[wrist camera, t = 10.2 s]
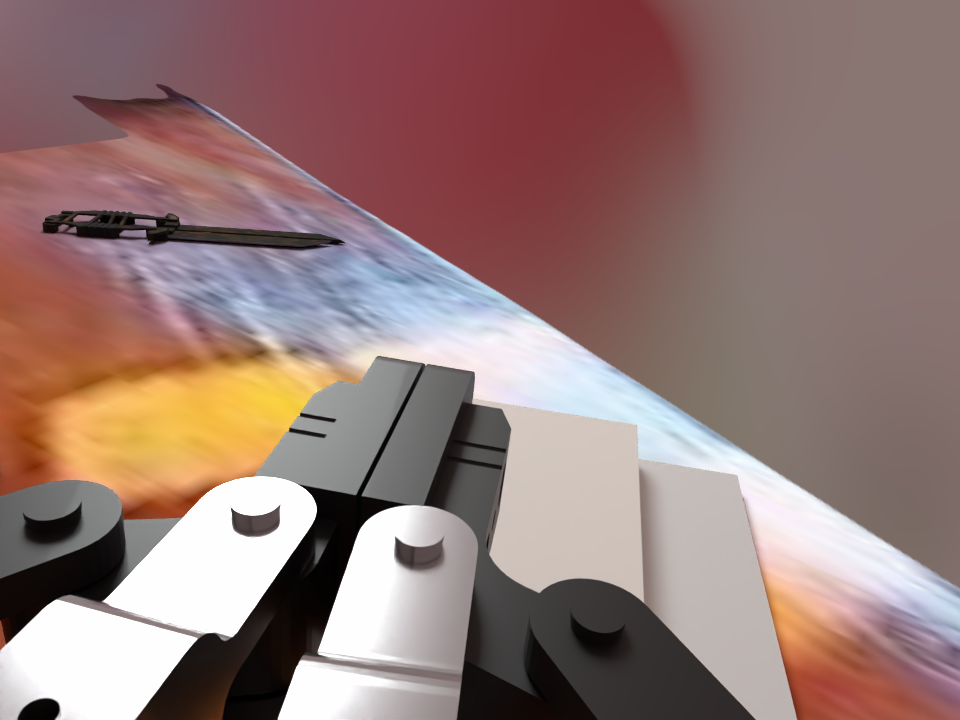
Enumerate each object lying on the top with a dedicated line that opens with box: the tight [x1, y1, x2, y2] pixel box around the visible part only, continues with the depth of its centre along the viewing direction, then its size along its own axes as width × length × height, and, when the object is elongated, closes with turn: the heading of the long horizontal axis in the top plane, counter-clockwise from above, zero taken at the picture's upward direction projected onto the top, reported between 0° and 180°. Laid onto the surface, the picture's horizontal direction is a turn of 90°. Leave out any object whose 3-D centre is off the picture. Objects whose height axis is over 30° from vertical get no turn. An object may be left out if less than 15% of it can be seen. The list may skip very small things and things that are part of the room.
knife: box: [43, 210, 345, 247], centre depth 71 cm, size 25×6×1 cm, turn 90°
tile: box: [472, 399, 644, 603], centre depth 35 cm, size 9×2×15 cm
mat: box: [638, 459, 797, 720], centre depth 34 cm, size 20×19×1 cm
